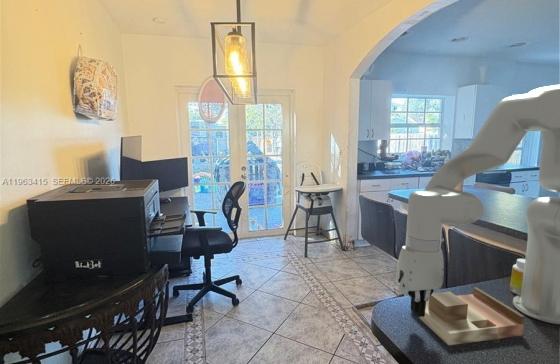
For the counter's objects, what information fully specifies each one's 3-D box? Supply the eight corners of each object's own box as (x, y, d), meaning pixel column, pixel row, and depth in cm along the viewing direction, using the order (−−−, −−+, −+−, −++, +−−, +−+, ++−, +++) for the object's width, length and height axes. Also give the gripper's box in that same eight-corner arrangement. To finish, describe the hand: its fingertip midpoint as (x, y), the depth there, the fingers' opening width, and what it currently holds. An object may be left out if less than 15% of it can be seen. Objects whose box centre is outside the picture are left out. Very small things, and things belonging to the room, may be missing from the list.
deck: (474, 303, 84) (476, 287, 84) (522, 335, 71) (524, 316, 70) (411, 310, 81) (412, 293, 80) (448, 345, 67) (450, 325, 67)
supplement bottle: (529, 299, 87) (533, 266, 85) (506, 291, 91) (510, 260, 90) (535, 294, 90) (540, 262, 88) (513, 286, 94) (517, 256, 93)
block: (448, 305, 78) (450, 291, 77) (466, 319, 72) (468, 304, 72) (428, 307, 77) (429, 293, 76) (444, 321, 71) (446, 306, 71)
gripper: (439, 236, 75) (434, 302, 78) (385, 239, 73) (381, 308, 75) (462, 246, 68) (455, 319, 71) (403, 250, 65) (398, 326, 68)
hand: (417, 313), depth 73 cm, fingers closed
